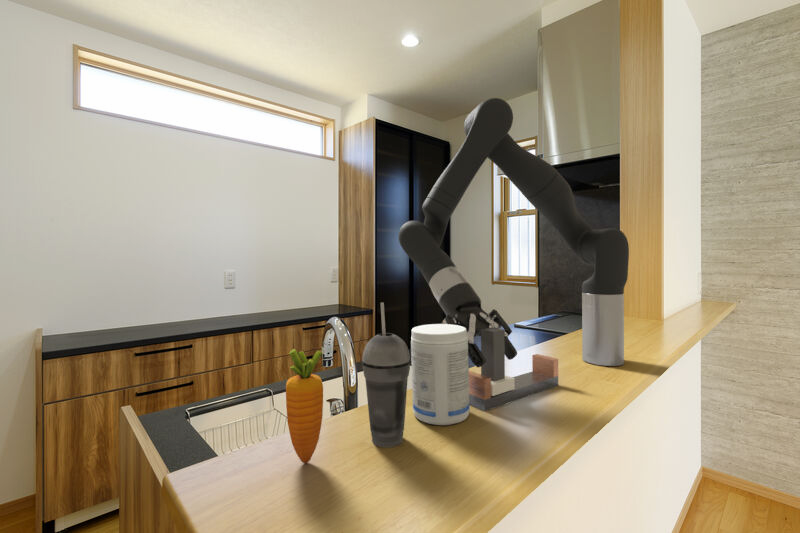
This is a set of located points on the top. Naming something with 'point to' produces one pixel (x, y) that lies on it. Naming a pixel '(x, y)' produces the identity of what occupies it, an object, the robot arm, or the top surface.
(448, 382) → the supplement tub
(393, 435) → the beverage cup
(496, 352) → the block
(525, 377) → the rail
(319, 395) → the carrot
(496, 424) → the top surface
